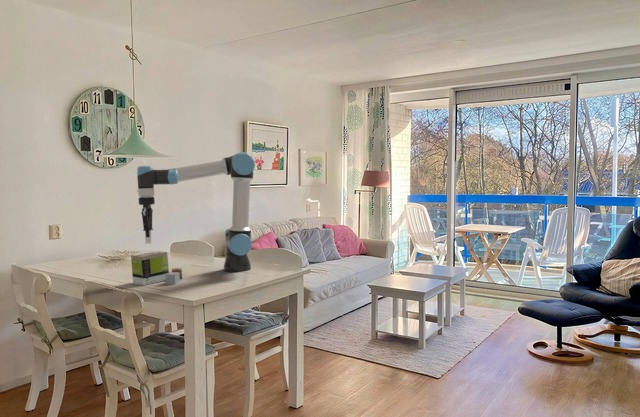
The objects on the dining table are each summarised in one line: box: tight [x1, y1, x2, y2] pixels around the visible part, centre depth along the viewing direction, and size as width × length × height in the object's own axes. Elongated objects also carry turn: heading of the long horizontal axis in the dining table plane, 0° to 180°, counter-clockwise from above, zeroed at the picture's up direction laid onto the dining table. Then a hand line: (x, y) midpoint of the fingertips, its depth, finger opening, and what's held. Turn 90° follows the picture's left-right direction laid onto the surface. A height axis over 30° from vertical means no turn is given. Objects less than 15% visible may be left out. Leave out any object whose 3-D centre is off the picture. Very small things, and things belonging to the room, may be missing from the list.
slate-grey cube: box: [165, 271, 181, 285], centre depth 243 cm, size 5×5×5 cm
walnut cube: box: [171, 267, 183, 280], centre depth 254 cm, size 5×5×5 cm
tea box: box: [130, 250, 170, 286], centre depth 248 cm, size 15×10×15 cm
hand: (148, 243), depth 247 cm, fingers closed
